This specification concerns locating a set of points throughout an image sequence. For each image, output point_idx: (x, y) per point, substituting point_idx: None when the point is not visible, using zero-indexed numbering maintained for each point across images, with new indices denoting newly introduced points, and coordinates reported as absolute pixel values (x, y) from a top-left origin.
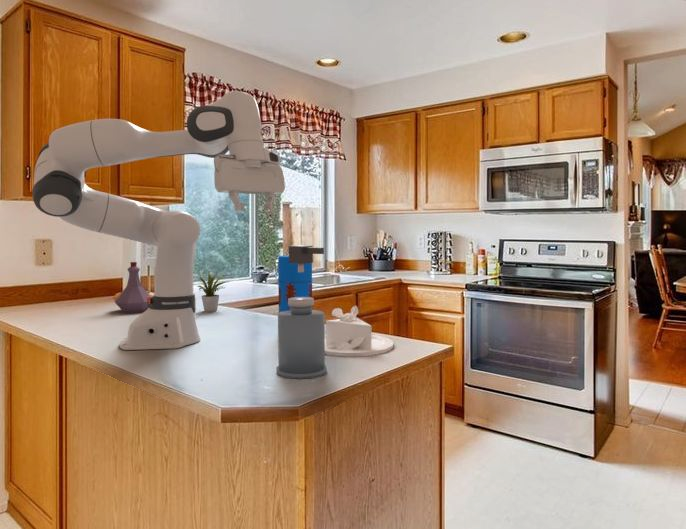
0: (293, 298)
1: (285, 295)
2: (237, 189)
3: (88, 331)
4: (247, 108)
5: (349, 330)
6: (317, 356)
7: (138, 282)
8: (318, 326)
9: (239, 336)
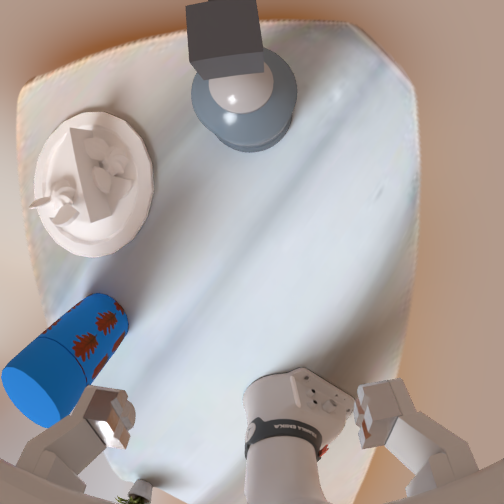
0: (250, 98)
1: (94, 351)
2: (476, 476)
3: None
4: None
5: (85, 171)
6: None
7: None
8: None
9: (186, 366)
